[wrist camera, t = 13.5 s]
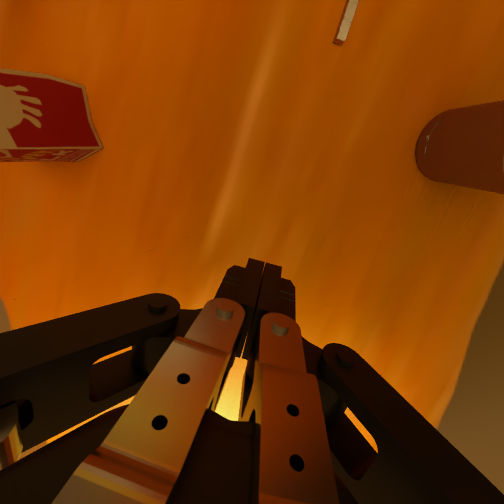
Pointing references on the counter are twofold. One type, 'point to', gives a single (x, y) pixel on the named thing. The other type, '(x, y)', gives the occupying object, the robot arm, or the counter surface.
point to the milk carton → (44, 119)
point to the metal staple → (345, 21)
